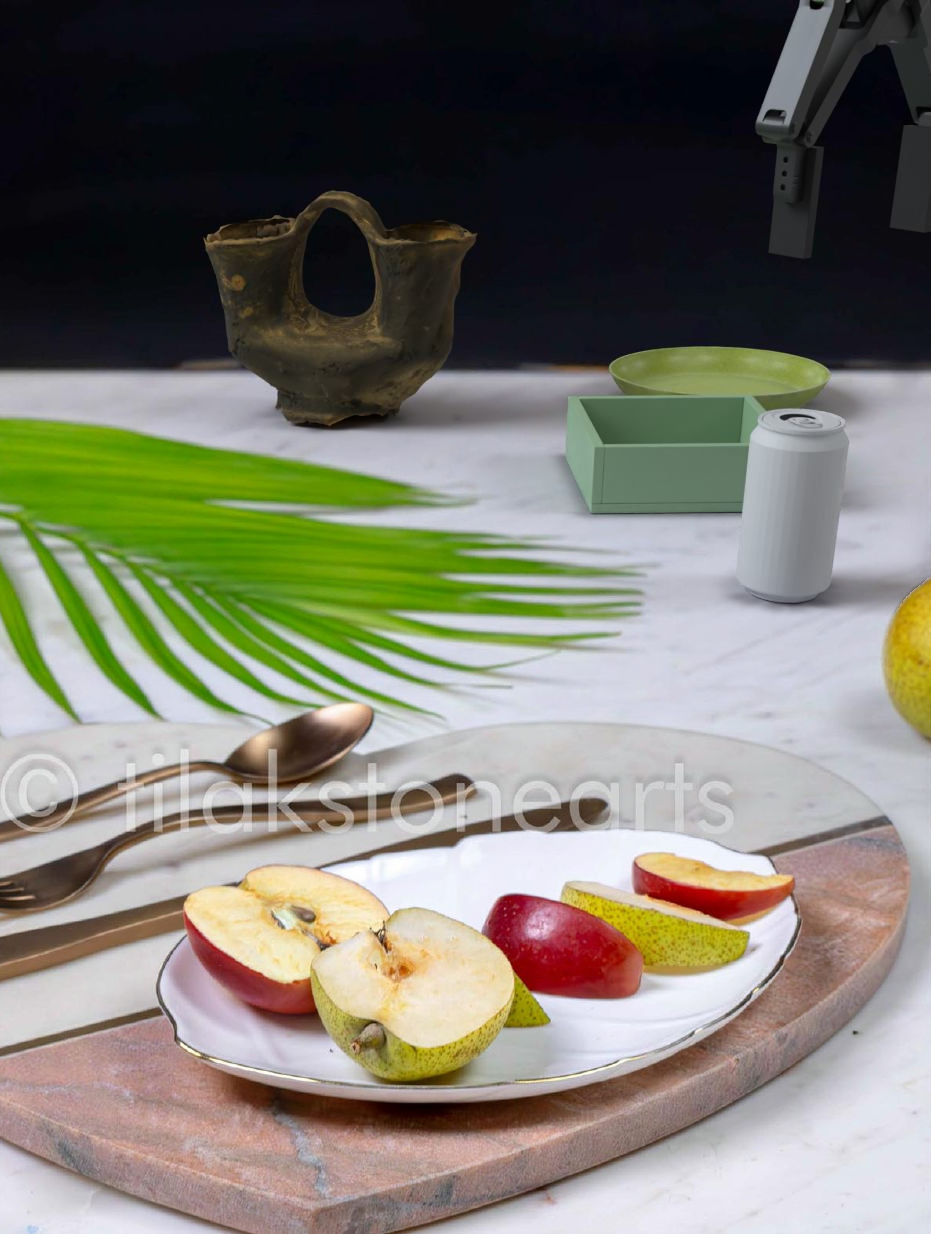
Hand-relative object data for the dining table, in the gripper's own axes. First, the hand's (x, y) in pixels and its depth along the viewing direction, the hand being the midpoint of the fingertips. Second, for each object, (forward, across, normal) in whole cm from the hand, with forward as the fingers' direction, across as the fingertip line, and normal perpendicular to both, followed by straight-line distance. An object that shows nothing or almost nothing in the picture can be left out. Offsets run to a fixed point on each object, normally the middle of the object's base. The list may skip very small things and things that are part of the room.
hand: (851, 242), depth 111 cm
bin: (+23, -8, -19) cm, 31 cm away
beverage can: (+22, +6, +2) cm, 23 cm away
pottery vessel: (+23, -2, -54) cm, 58 cm away
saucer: (+23, -32, -33) cm, 52 cm away
